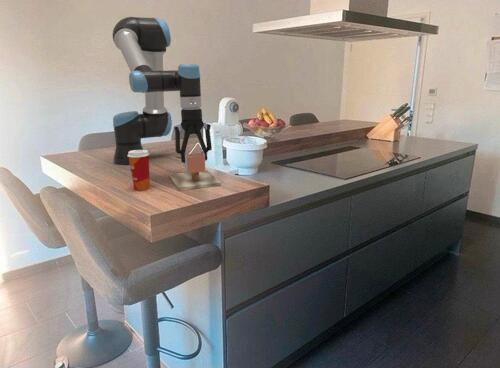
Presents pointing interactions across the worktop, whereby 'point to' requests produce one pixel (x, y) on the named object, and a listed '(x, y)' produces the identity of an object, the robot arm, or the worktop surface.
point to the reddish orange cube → (195, 163)
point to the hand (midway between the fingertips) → (195, 169)
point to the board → (189, 184)
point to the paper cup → (139, 169)
